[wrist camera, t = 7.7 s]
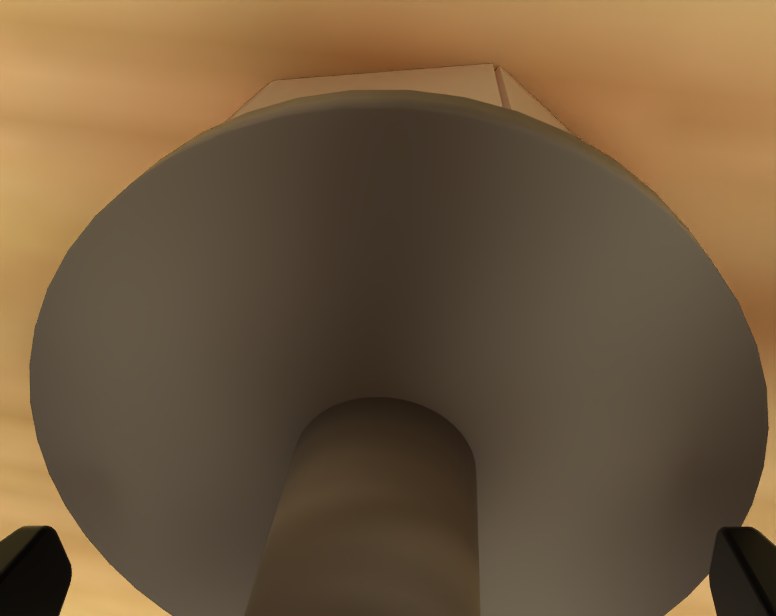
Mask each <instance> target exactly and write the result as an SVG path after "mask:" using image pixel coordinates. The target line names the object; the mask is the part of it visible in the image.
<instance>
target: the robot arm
mask: <svg viewBox="0 0 776 616" xmlns="http://www.w3.org/2000/svg"><path fill="white" fill-rule="evenodd" d="M71 577H72V569H71V564H70V561H69V559H68V557H67V554H66V552H65V550H64V548H63V545H62V543H61V541H60V539H59V536H58V534H57V532H56V531H55V530H54V529H53V528H52V527H50V526H24V527H21V528H19V529H17V530H16V531H14V532H13V533H12V534H10V535H9V536H7V537H6V538H5V539H3V540H2V541H0V616H59V615H60V612H61V609H62V606H63V603H64V600H65V597H66V594H67V591H68V588H69V586H70V582H71ZM709 581H710V588H711V593H712V597H713V601H714V605H715V609H716V613H717V616H776V546H775V545H774V544H773V543H772V542H771V541H770V540H768V539H767V538H766V537H765V536H764V535H763V534H762V533H761V532H759V531H758V530H756V529H754V528H752V527H721V528H720V529H719V530H718V532H717V534H716V538H715V544H714V549H713V554H712V560H711V565H710V571H709Z"/></svg>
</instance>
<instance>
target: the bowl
mask: <svg viewBox="0 0 776 616" xmlns="http://www.w3.org/2000/svg"><path fill="white" fill-rule="evenodd" d="M348 90H415V91H422V92H430V93H438V94H446V95H453V96H461V97H466V98H470V99H474V100H478V101H481V102H485V103H489V104H493V105H496V106H500V107H504V108H507V109H511V110H515V111H519V112H521V113H523V114H526V115H528V116H530V117H533V118H535V119H538V120H540V121H542V122H545V123H547V124H550V125H552V126H554V127H557V128H559V129H561V130H564V131H566V132H569V133H571V132H570V131H569V130H568V129H567V128H566V127H564V126H563V125H562V124H561V123H560V122H559V121H558V120H557V119H556V118H555V117H554V116H553V115H552V114H551V113H550V112H548V111H547V110H546V109H545V108H544V107H543V106H542V105H541V104H540V103H539V102H538V101H537V100H536V99H535V98H533V97H532V96H531V95H530V94H529V93H528V92H527V91H526V90H525V89H524V88H523V87H522V86H521V85H520V84H519V83H517V82H516V81H515V80H514V79H513V78H512V77H511V76H510V75H509V74H508V73H507V72H506V71H505V70H504V69H503V68H501V67H500V66H499V67H498V68H497V69H496V70H495V71H494V67H493V63H491V64H478V65H466V66H453V67H440V68H427V69H414V70H401V71H388V72H376V73H363V74H350V75H337V76H324V77H311V78H298V79H286V80H274V81H273V82H272V83H270V84H267V85H266V86H265V87H264V88H263V89H261V90H260V91H259V92H258V93H257V94H256V95H255V96H253V97H252V98H251V99H250V100H249V101H248V102H247V103H246V104H244V105H243V106H242V107H241V108H240V109H239V110H238V111H237V112H235V113H234V114H233V115H232V116H231V117H230V118H229V119H227V120H226V121H225V122H227V121H229V120H231V119H233V118H236V117H238V116H240V115H242V114H244V113H247V112H250V111H253V110H257V109H260V108H264V107H267V106H271V105H274V104H278V103H281V102H284V101H288V100H291V99H295V98H299V97H306V96H313V95H320V94H327V93H334V92H341V91H348ZM225 122H224V123H225ZM571 134H572V133H571ZM572 135H573V134H572Z"/></svg>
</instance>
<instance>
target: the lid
mask: <svg viewBox="0 0 776 616" xmlns="http://www.w3.org/2000/svg"><path fill="white" fill-rule="evenodd" d="M30 403H31V408H32V414H33V419H34V425H35V430H36V435H37V440H38V443H39V446H40V449H41V452H42V454H43V457H44V460H45V463H46V466H47V469H48V472H49V474H50V476H51V478H52V480H53V482H54V484H55V486H56V488H57V490H58V492H59V494H60V496H61V498H62V500H63V502H64V504H65V506H66V507H67V509H68V510H69V512H70V513H71V515H72V516H73V518H74V519H75V521H76V522H77V524H78V525H79V527H80V528H81V530H82V531H83V533H84V534H85V536H86V537H87V538H88V539H89V540H90V541H91V543H92V544H93V545H94V546H95V547H96V548H97V550H98V551H99V552H100V553H101V554H102V555H103V557H104V558H105V559H106V560H107V561H108V562H109V564H110V565H111V566H113V567H114V568H115V569H116V570H117V571H118V572H119V573H120V574H121V575H122V576H123V577H124V578H125V579H126V580H127V581H129V582H130V583H131V584H132V585H133V586H134V587H135V588H136V589H137V590H139V591H140V592H141V593H142V594H144V595H145V596H146V597H148V598H149V599H150V600H152V601H153V602H154V603H155V604H157V605H158V606H159V607H161V608H162V609H163V610H165V611H166V612H168V613H169V614H171V615H172V616H664V615H665V614H667V613H668V612H669V611H670V610H671V609H673V608H674V607H675V606H676V605H678V604H679V603H680V602H681V601H682V600H684V599H685V598H686V597H687V596H688V595H689V594H690V593H691V592H692V591H693V590H694V589H695V588H696V587H697V586H698V585H699V584H700V583H701V582H702V581H703V580H704V578H705V577H706V576H707V575H708V574H709V571H710V565H711V560H712V554H713V549H714V544H715V538H716V534H717V532H718V530H719V529H720V528H721V527H741V526H742V524H743V522H744V520H745V518H746V516H747V514H748V512H749V510H750V508H751V506H752V503H753V500H754V497H755V493H756V490H757V487H758V484H759V481H760V477H761V474H762V471H763V467H764V460H765V452H766V444H767V436H768V429H769V428H768V408H767V388H766V383H765V379H764V375H763V370H762V366H761V362H760V357H759V353H758V349H757V345H756V342H755V340H754V338H753V335H752V333H751V331H750V328H749V326H748V324H747V321H746V319H745V317H744V314H743V312H742V310H741V307H740V305H739V303H738V301H737V299H736V298H735V296H734V295H733V293H732V292H731V290H730V289H729V287H728V286H727V284H726V283H725V281H724V279H723V278H722V276H721V275H720V273H719V272H718V270H717V269H716V267H715V266H714V264H713V262H712V261H711V260H710V258H709V257H708V255H707V254H706V253H705V251H704V250H703V249H702V247H701V246H700V244H699V243H698V242H697V240H696V239H695V238H694V236H693V235H692V234H691V232H690V231H689V229H688V228H687V227H686V226H685V225H684V224H683V223H682V222H681V221H680V219H679V218H678V217H677V216H676V215H675V214H674V213H673V212H672V211H671V209H670V208H669V207H668V206H667V205H666V204H665V203H664V202H663V201H662V200H661V198H660V197H659V196H658V195H657V194H656V193H655V192H654V191H653V190H651V189H650V188H649V187H648V186H646V185H645V184H644V183H643V182H642V181H640V180H639V179H638V178H637V177H635V176H634V175H633V174H632V173H630V172H629V171H628V170H627V169H626V168H624V167H623V166H622V165H621V164H619V163H618V162H617V161H616V160H614V159H612V158H611V157H609V156H607V155H606V154H604V153H602V152H601V151H599V150H597V149H596V148H594V147H592V146H591V145H589V144H587V143H586V142H584V141H582V140H581V139H579V138H577V137H576V136H574V135H572V134H571V133H569V132H566V131H564V130H561V129H559V128H557V127H554V126H552V125H550V124H547V123H545V122H542V121H540V120H538V119H535V118H533V117H530V116H528V115H526V114H523V113H521V112H519V111H515V110H511V109H507V108H504V107H500V106H496V105H493V104H489V103H485V102H481V101H478V100H474V99H470V98H466V97H461V96H453V95H446V94H438V93H430V92H422V91H415V90H348V91H341V92H334V93H327V94H320V95H313V96H306V97H299V98H295V99H291V100H288V101H284V102H281V103H278V104H274V105H271V106H267V107H264V108H260V109H257V110H253V111H250V112H247V113H244V114H242V115H240V116H238V117H236V118H233V119H231V120H229V121H227V122H225V123H222V124H220V125H218V126H216V127H214V128H211V129H209V130H207V131H205V132H203V133H201V134H199V135H197V136H196V137H194V138H193V139H191V140H190V141H188V142H187V143H185V144H184V145H182V146H181V147H179V148H178V149H176V150H174V151H173V152H171V153H170V154H168V155H167V156H165V157H164V158H162V159H161V160H159V161H158V162H157V163H156V164H155V165H153V166H152V167H151V168H150V169H148V170H147V171H146V172H145V173H144V174H142V175H141V176H140V177H139V178H137V179H136V180H135V181H134V182H133V183H131V184H130V185H129V186H128V187H127V188H126V189H125V190H124V191H123V192H121V193H120V194H119V195H118V196H117V197H116V198H115V199H114V200H113V201H112V202H110V203H109V204H108V205H107V206H106V207H105V208H104V209H103V210H102V211H100V212H99V213H98V214H97V215H96V216H95V217H94V219H93V220H92V221H91V222H90V224H89V225H88V226H87V227H86V229H85V230H84V231H83V233H82V234H81V235H80V236H79V238H78V239H77V240H76V241H75V243H74V244H73V245H72V247H71V248H70V249H69V250H68V252H67V254H66V255H65V257H64V259H63V261H62V263H61V265H60V267H59V269H58V270H57V272H56V274H55V276H54V278H53V280H52V282H51V283H50V285H49V287H48V289H47V292H46V295H45V298H44V301H43V304H42V307H41V310H40V313H39V317H38V320H37V323H36V326H35V331H34V338H33V345H32V352H31V359H30Z"/></svg>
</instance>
